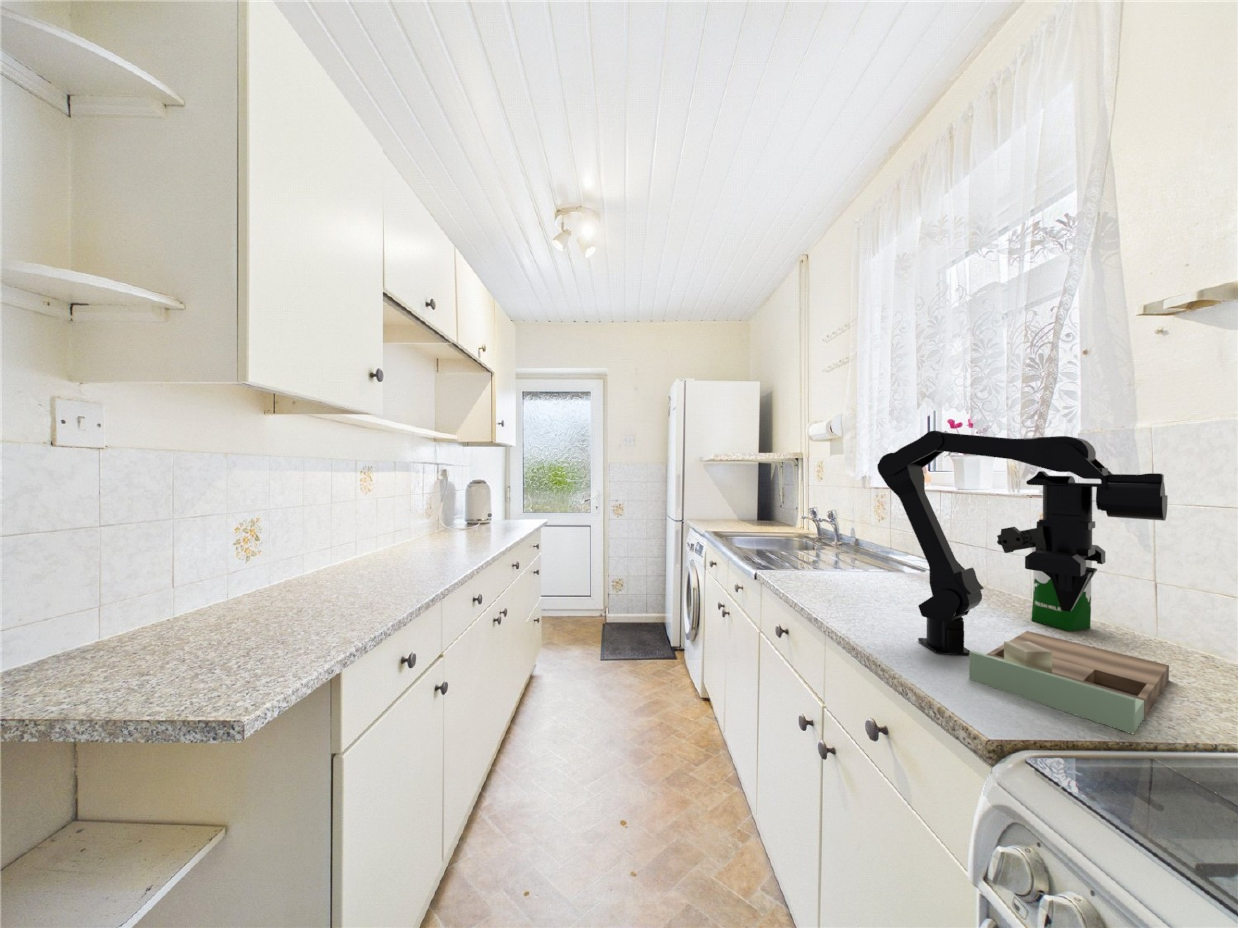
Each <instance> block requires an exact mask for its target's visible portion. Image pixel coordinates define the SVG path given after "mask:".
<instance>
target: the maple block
mask: <svg viewBox="0 0 1238 928" xmlns="http://www.w3.org/2000/svg"><path fill="white" fill-rule="evenodd" d="M1003 644H1004V660H1006V661H1009V662H1013V663H1016V664H1020V665H1023V666H1027V667H1030V668H1033V669H1037V670H1040V671H1044V672H1047V673H1051V674H1052V652H1051V651H1049V650H1047V649H1044V648H1042V647H1040V646H1037V645H1035V644H1033V643H1031V642H1012V641H1010V640H1009V641H1003Z"/></svg>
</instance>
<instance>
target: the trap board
mask: <svg viewBox="0 0 1238 928" xmlns="http://www.w3.org/2000/svg"><path fill="white" fill-rule="evenodd" d="M1009 641H1012V642H1031V643H1033V644H1035V645H1037V646H1040V647H1042V648H1044V649H1047V650H1049V651H1051V652H1052V674H1054V675H1058V676H1061V677H1065V678H1068V679H1072V680H1075V681H1078V682H1082V683H1085V684H1089V685H1092V686H1095V687H1099V688H1102V689H1106V690H1109V691H1113V692H1116V693H1119V694H1123V695H1126V696H1130V697H1133V698H1137V699H1140V700H1143V701H1144V717H1145V718H1146V716H1147V715H1148V713H1149V712H1150V710H1151V708H1152V707H1153V705H1154V704H1155V702H1156V701H1157V699H1158V698H1159V696H1160V694H1161V693H1162V691H1163V690H1164V688H1165V687H1166V685H1167V684H1168V682H1169V681H1170V673H1169V672H1170V665H1169V664H1166V663H1162V662H1159V661H1153V660H1150V659H1145V658H1141V657H1138V656H1132V655H1129V654H1124V653H1120V652H1117V651H1112V650H1108V649H1103V648H1100V647H1095V646H1091V645H1087V644H1083V643H1079V642H1075V641H1071V640H1067V639H1062V638H1057V637H1054V636H1049V635H1045V634H1041V633H1038V632H1033V631H1029V630H1026V631H1025V632H1022V633H1021V634H1019V635H1018V636H1015V637H1014V638H1012V639H1011V640H1009ZM985 654H986V655H989V656H993V657H996V658H1000V659H1003V660H1004V643H1003V644H1001V645H1000V646H998V647H997V648H995V649H993V650H991V651H989V652H988V653H985ZM1146 714H1147V715H1146Z"/></svg>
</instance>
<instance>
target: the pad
mask: <svg viewBox="0 0 1238 928" xmlns="http://www.w3.org/2000/svg"><path fill="white" fill-rule="evenodd" d="M986 654H987V653H982V652H978V651H975V650H970V653H969V655H968V656H969V658H968V659H969V662H968V663H969V664H968V666H969V667H968V670H969V672H968V675H969V676H968V680H971V681H973V682H977V683H979V684H982V685H986V686H988V687H991V686H992V687H991V688H993V689H994V688H995V689H996V690H1001V691H1003V690H1004V691H1003V692H1007V693H1009V694H1012V695H1014V696H1018V697H1021V698H1024V699H1027V700H1030V701H1032V700H1033V702H1035V701H1036V702H1035V703H1038V702H1039V704H1041V705H1045V706H1047V705H1048V707H1050V708H1054V709H1057V710H1059V711H1063V712H1066V713H1068V714H1070V715H1074V714H1076V715H1075V716H1077V715H1078V716H1077V717H1080V716H1081V717H1080V718H1083V719H1086V718H1087V719H1086V720H1088V719H1091V720H1093V721H1092V722H1094V721H1095V722H1094V723H1098V724H1100V723H1102V724H1101V725H1103V724H1106V725H1108V726H1107V727H1109V726H1110V728H1112V727H1113V728H1112V729H1115V728H1118V729H1120V730H1119V731H1121V730H1123V731H1122V732H1124V731H1125V732H1124V733H1127V732H1129V733H1128V734H1130V733H1134V732H1135V731H1136V732H1137V730H1138V728H1139V727H1140V725H1141V724H1140V723H1142V722H1143V721H1144V719H1145V718H1144V701H1143V700H1140V699H1137V698H1133V697H1130V696H1126V695H1123V694H1119V693H1116V692H1113V691H1109V690H1106V689H1102V688H1099V687H1095V686H1092V685H1089V684H1085V683H1082V682H1078V681H1075V680H1072V679H1068V678H1065V677H1061V676H1058V675H1054V674H1051V673H1047V672H1044V671H1040V670H1037V669H1033V668H1030V667H1027V666H1023V665H1020V664H1016V663H1013V662H1009V661H1006V660H1003V659H1000V658H996V657H993V656H989V655H986ZM1091 720H1090V721H1091ZM1142 720H1143V721H1142ZM1106 725H1105V726H1106ZM1138 726H1139V727H1138ZM1118 729H1117V730H1118ZM1136 729H1137V730H1136ZM1136 732H1135V733H1136ZM1135 733H1134V734H1135Z"/></svg>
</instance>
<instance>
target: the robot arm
mask: <svg viewBox="0 0 1238 928" xmlns="http://www.w3.org/2000/svg"><path fill="white" fill-rule="evenodd" d="M945 452H946V453H947V452H948V453H956V454H963V455H965V454H966V455H971V456H972V455H973V456H981V457H990V458H999V459H1007V460H1012V461H1017V462H1019V463H1023V464H1026V465H1030V466H1034V467H1038V468H1040V469H1044V470H1045V469H1046V470H1048V471H1053V472H1057V473H1071V474H1073V475H1075V476H1078V477H1080V478H1081V479H1085V480H1087V479H1089V480H1100V481H1101V482H1100V483H1099V482H1093V483H1092V482H1076V479H1075V478H1074V476H1072V475H1049V474H1048V473H1047V472H1046V471H1044V470H1040V471H1038V472H1036V474H1035V475H1034V476H1033V477H1032V478H1029V479H1028V480H1027V481H1026V484H1027V485H1028V486H1042V518H1040V519H1038V520H1037V521H1036V527H1034V528H1028V529H1022V530H1020V529H1019V528H1018V527H1016V526H1010V527H1005V528H1001V529H1000V533H999V534H998V535H997V536H996V537H997V541H996V543H997V545H999V546H1001V547H1002V550H1003V552H1004V554H1008V553H1013V552H1015V551H1019V550H1025V549H1031V548H1033V547H1036V551H1034V552H1032V551H1031V552H1030V553H1029V554H1027V555H1026V556H1024V569H1026V570H1028V571H1033V570H1035V571H1042V572H1044V573H1045V574H1046V575H1047V576H1049V577H1050V579H1051V581H1052V584H1053V586H1054V589H1055V593H1056V596H1057V599H1058V602H1059V605H1060V608H1061V610H1063V611H1067V612H1070V611H1072V609H1073V608H1074V606H1075V604H1076V603H1077V601H1078V600H1079V598H1080V596H1081V595H1082V593H1083V591H1084V590H1085V588H1086V587H1087V585H1088V583H1089V582H1090V580H1091V581H1092V578H1093V577H1094V575H1095V574H1096V573H1097V571H1098V568H1096V567H1091V568H1090V567H1086V560H1090V561H1092V562H1096V564H1097V565H1104V564H1105V563H1106V551H1105V550H1104V549H1103V548H1102V547H1101V546H1099V545H1097V544H1093V529H1095V528H1096V521H1095V520H1094V521H1093V488H1096V492H1095V501H1096V502H1095V503H1096V504H1095V505H1096V508H1097V510H1099V511H1101V512H1103V511H1104V512H1105V513H1106V516H1107V518H1108V517H1109V518H1117V519H1118V518H1121V519H1135V520H1149V521H1150V520H1152V521H1161V522H1162V521H1163V522H1164V521H1166V519H1167V514H1168V498H1169V497H1168V495H1167V494H1166V487H1165V474H1163V473H1157V472H1156V473H1154V472H1153V473H1151V472H1150V473H1149V472H1148V473H1142V474H1126V473H1124V474H1123V473H1121V474H1120V473H1115V474H1114V473H1112V472H1111V471H1110V470H1109V468H1108V467H1105V465H1103V464H1102V463H1101V461H1099V460H1098V459H1097V458H1096V457H1097V456H1096V450H1095V448H1094V446H1093V445H1092V443H1090V442H1089V441H1088V440H1086V439H1083V438H1080V437H1074V436H1067V435H1066V436H1065V435H1063V436H1062V435H1061V436H1042V437H1041V436H1040V437H1039V436H1038V437H1026V438H1025V437H1024V438H1023V437H1022V438H1009V437H999V436H998V437H997V436H987V435H977V434H976V435H975V434H962V433H952V432H951V433H950V432H947V431H942V430H930V431H927V432H926V433H925V434H923V435H922V436H921V437H919V438H917V439H916V440H914V441H912V442H910V443H908V444H907V445H904V446H902V447H900V448H899V449H898V450H896V451H894V452H888V453H885V454H883V455H882V457H881V458H880V459H879V461H878V463H877V466H876V467H877V472H878V473H879V475H880V477H881V478H882V479H883V481H884V483H885V485H886V486H887V487H888V488H889V489H890V490H891V491H892V492H893V493H894V495H896V496H897V497H898V499H899V500H900V502H901V504H902V507H903V510H904V512H905V514H906V516H907V519H908V520H909V524H910V526H911V527H912V530H913V532H914V534H915V535H914V536H916V537H915V538H916V539H917V541H918V544H919V546H920V549H921V550H922V553H923V555H924V557H925V560H926V562H927V565H928V567H929V576H928V577H929V586H930V590H931V594H932V596H931V597H929V598H928V599H926V600H924V601H923V602H922V603H920V604H918V609H919V612H920V615H921V617H923V618H926V637H918V638H917V640H918V642H920V643H921V644H923V645H924V646H925V647H927V648H928V649H929V650H931V651H932V652H934V653H936V654H942V655H943V654H944V655H945V654H947V655H961V656H962V655H966V656H969V653H970V651H971V650H969V649H968V648H966V647H965V621H964V618H963V617H964V616H968V614H969V612H970V610H972V609H975V608H976V607H977V606H978V605H980V603H981V601H982V599H983V594H982V590H984V589H985V588H984V586H982V584H981V583H980V582H979V580H978V577H977V573H976V571H975V569H974V567H969V568H966V569H965V568H964V567H963V566H962V565H961V564H960V563H959V562H958V560H957V559H956V557H955V555H954V553H953V551H952V548H951V546H950V544H949V541H948V540H947V537H946V535H945V533H944V530H943V529H942V526H941V524H940V522H939V520H938V518H937V516H936V513H935V511H934V509H933V507H932V505H931V502H930V500H929V499H928V496H927V494H926V489H925V483H926V482H925V477H926V476H925V473H924V468H925V467H926V466H928V465H930V464H931V463H932V462H933V461H934V460H935V459H936V458H938V457H939V456H940V455H941V454H942V453H945Z"/></svg>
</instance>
